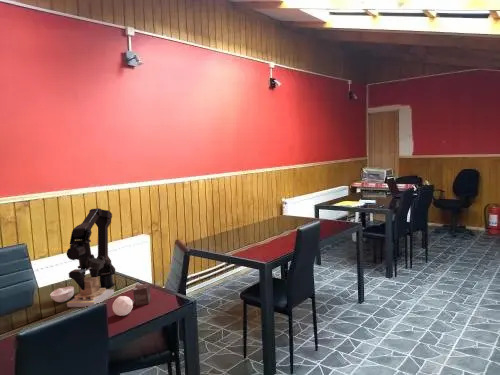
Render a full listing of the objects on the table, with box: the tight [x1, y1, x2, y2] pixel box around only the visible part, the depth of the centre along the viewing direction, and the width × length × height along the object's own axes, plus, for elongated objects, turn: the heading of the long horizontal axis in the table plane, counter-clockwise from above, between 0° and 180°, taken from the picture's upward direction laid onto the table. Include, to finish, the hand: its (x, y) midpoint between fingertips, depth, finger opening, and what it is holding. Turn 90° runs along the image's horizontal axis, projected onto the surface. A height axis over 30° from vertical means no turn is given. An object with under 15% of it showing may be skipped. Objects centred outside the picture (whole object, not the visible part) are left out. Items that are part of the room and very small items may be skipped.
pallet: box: [73, 288, 107, 300], centre depth 193 cm, size 10×10×2 cm
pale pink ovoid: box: [112, 295, 135, 317], centre depth 172 cm, size 8×8×12 cm
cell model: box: [49, 285, 75, 303], centre depth 196 cm, size 10×12×7 cm
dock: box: [66, 288, 115, 308], centre depth 193 cm, size 16×14×2 cm
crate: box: [79, 276, 100, 294], centre depth 192 cm, size 6×6×6 cm
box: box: [132, 283, 152, 306], centre depth 182 cm, size 6×6×7 cm
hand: (89, 286), depth 192 cm, fingers open, 9 cm apart
